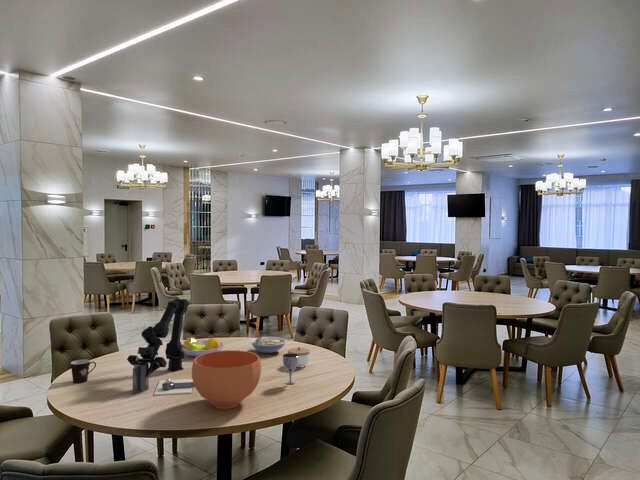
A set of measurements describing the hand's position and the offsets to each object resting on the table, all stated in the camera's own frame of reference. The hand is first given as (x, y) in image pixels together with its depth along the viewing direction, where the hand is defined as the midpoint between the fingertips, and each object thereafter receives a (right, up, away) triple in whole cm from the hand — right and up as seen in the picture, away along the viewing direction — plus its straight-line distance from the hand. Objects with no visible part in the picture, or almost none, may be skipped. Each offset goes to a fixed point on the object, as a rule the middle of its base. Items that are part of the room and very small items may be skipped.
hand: (140, 376), depth 220 cm
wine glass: (+72, -7, +11) cm, 73 cm away
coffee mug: (-34, -6, +13) cm, 37 cm away
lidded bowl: (+75, -7, +44) cm, 87 cm away
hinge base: (+16, -7, +5) cm, 18 cm away
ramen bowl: (+54, -6, +73) cm, 91 cm away
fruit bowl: (+13, -6, +65) cm, 67 cm away
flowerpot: (+45, -8, -16) cm, 49 cm away
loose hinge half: (0, -7, -1) cm, 7 cm away
